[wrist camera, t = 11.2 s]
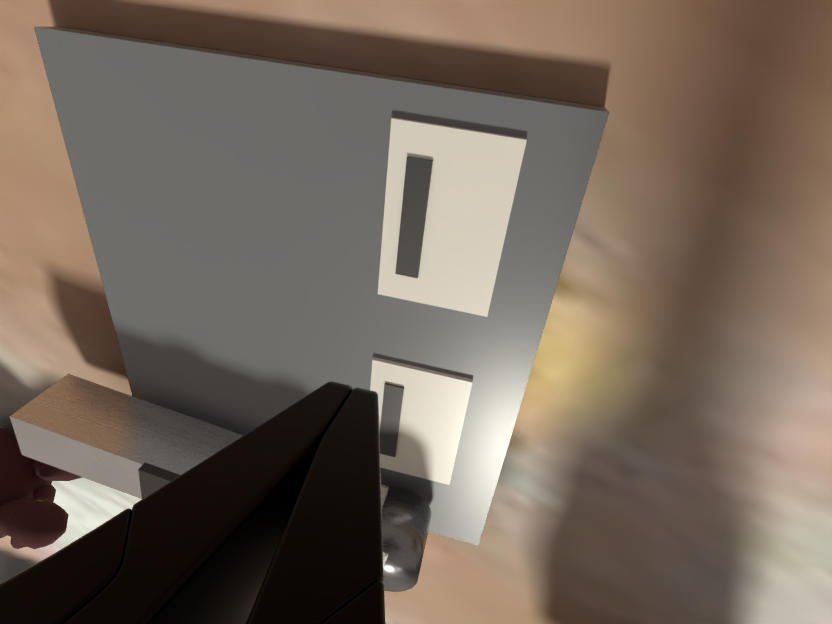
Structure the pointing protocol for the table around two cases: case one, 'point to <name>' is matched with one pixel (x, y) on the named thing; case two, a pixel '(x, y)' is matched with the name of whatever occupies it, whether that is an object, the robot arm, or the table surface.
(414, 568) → the cable arm
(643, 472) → the table surface
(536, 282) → the equipment panel
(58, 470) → the icecream
